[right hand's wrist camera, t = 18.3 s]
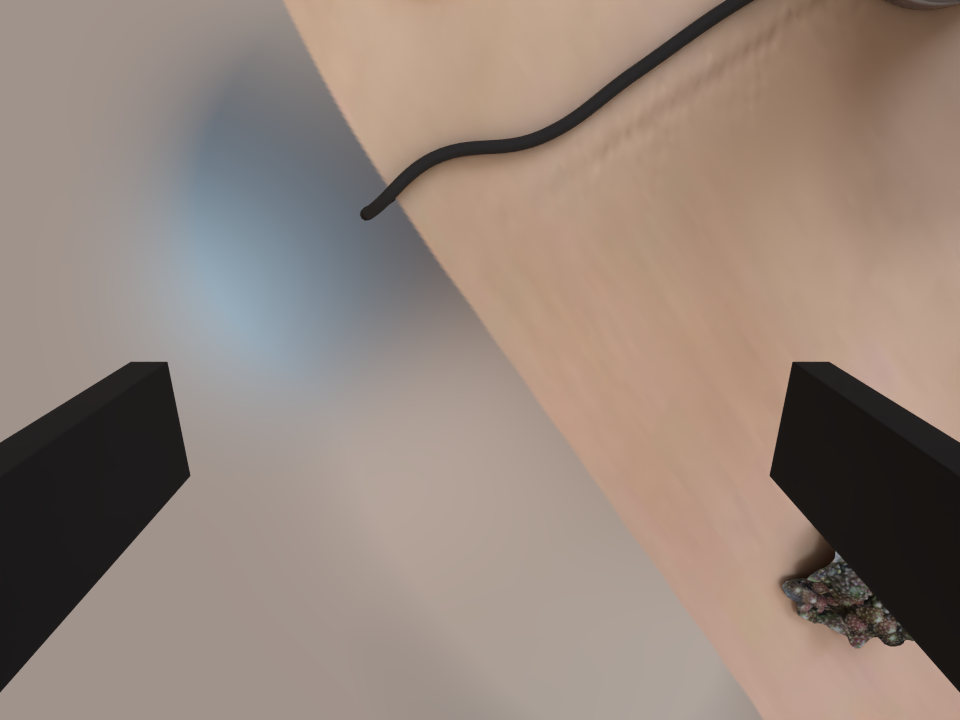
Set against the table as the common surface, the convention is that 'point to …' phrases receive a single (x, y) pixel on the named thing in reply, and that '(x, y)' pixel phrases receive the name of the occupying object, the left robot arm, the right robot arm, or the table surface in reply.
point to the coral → (844, 605)
